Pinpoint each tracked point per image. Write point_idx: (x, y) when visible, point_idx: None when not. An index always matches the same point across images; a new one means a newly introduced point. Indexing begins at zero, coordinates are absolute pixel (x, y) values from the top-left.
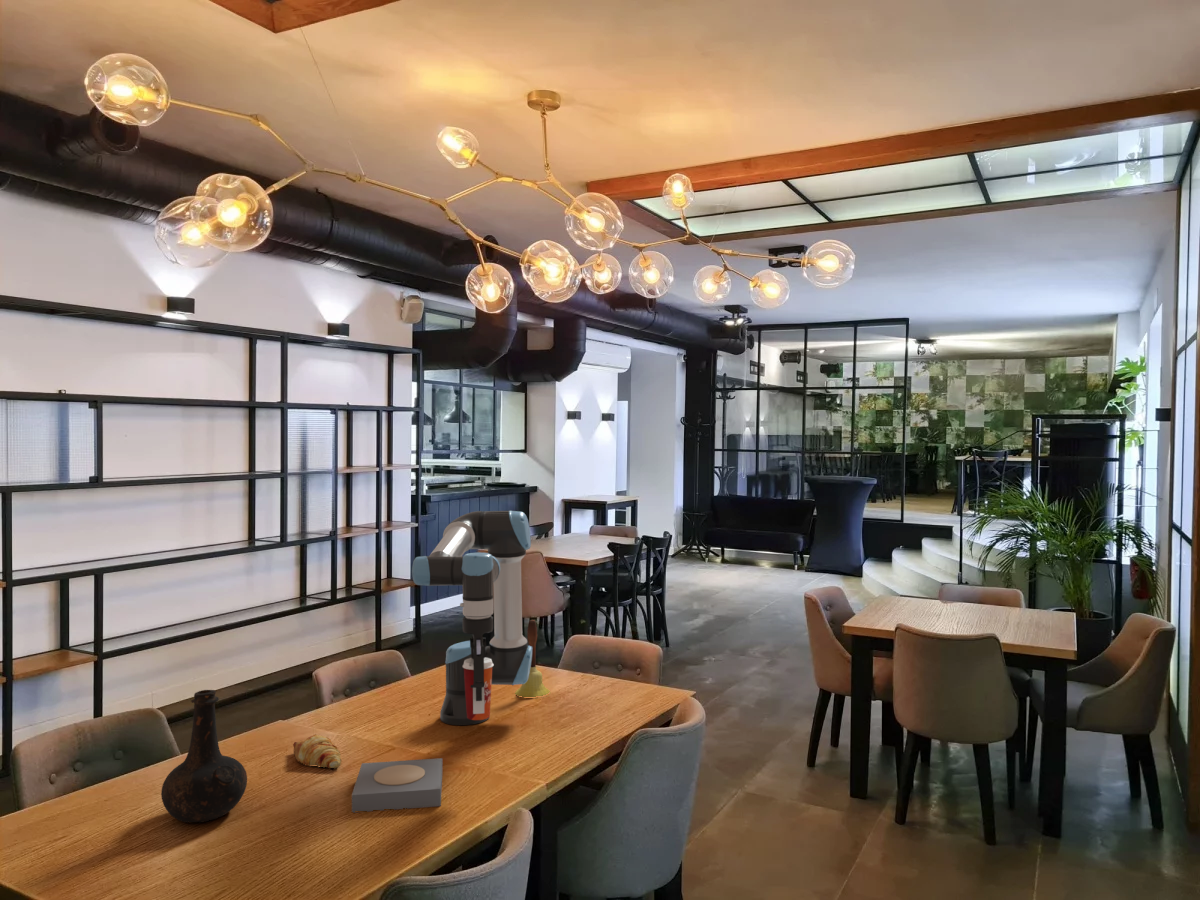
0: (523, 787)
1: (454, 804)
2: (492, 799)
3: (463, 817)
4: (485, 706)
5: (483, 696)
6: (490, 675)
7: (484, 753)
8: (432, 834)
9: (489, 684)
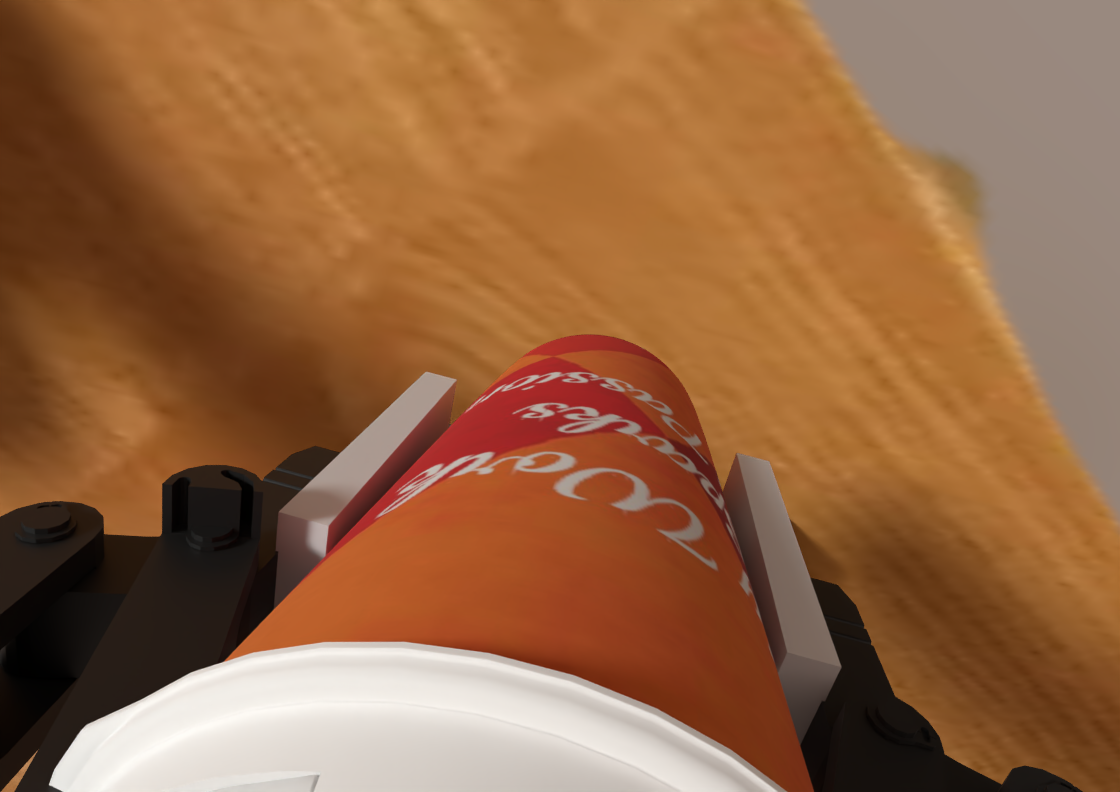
0: (770, 86)
1: (799, 461)
2: (837, 291)
3: (960, 465)
4: (710, 454)
5: (801, 575)
6: (720, 625)
7: (220, 158)
8: (1044, 609)
9: (712, 537)
